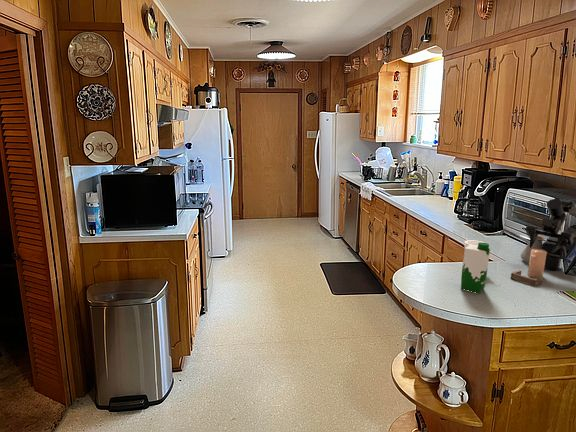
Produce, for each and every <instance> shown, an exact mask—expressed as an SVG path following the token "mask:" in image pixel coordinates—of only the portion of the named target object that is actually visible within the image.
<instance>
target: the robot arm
mask: <svg viewBox="0 0 576 432" xmlns="http://www.w3.org/2000/svg"><path fill="white" fill-rule="evenodd" d="M546 207H547V211H548V214H549V215H550V216H549V218H545V217H542V219H541V222H540V226H541V230H540V229H538V227H537V226H536V225H531V224H528V225H526V227H525V228H524V229H525V232H526V235H527V236H528V237H530V238H529V242H530V248H531V247H532V246H533V244H534V242H535V241H536V239H537V238H536V237H537V236H539V235H541V236H544V237H548V238H547V239H546V240H545V241H544V242H542V244H543V245H542V250H545V251H547V254H546V260H545V266H544V269H545V270H549V271H552V272H554V271H555V272H556V271H563V268H562V267H561V261H562V260H566V256H567V251H566V247H568V246H572V245H573V243H574V238H575V237H576V225H573V226H570V227H568V228H567V227H566V229H565V230H564V231H562V226H563V224H564V222H566V221H567V215H569V216H570V215H572V216H575V217H574V218H576V203H575V202H574V200H568V199H563V198H560V197H556V196H555V197H554V198H552V199H550V200H549V201H547V202H546ZM560 231H562V232H560ZM559 232H560V234H559Z"/></svg>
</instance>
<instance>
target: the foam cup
mask: <svg viewBox="0 0 576 432" xmlns="http://www.w3.org/2000/svg"><path fill="white" fill-rule="evenodd" d="M478 243H486V242H484V241H481V240H473V239H472V240H471V239H470V240H464V249H465V248H466V247H467V246H469V245H470V244H473V245H478Z"/></svg>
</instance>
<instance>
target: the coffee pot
mask: <svg viewBox="0 0 576 432" xmlns="http://www.w3.org/2000/svg"><path fill="white" fill-rule="evenodd" d="M503 231H504V232H506V233H507V234H509V235H511V236H512V237H515V238H517V239H519V240H522V241H524V242H525V243H527V245H526V246H525V248H524V249H523V250H522V252H521V253H520V258H521V260H523V262H524V263H525V264H528V265H529V261H530V255H531V249H542V245H543V241H544V240H545V238H544V237H543V236H539V235H538V236H537V237H536V238H537V239H536V241H535V242H534V244H533V246H532V247H531V248H530V240H528V239H525V238H523V237H522V236H519V235H517V234H516V233H515V232H512V231H509V230H508V229H506V228H503V229H502V230H501V232H503ZM528 237H529V236H528ZM529 239H530V237H529Z"/></svg>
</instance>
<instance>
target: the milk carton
mask: <svg viewBox="0 0 576 432" xmlns="http://www.w3.org/2000/svg"><path fill="white" fill-rule="evenodd" d="M490 254H491V247H490V244H489V243H487V242H485V243H478V245H473V244H470V245H469V246H467V247H466V248H465V247H464V253H463V261H462V269H461V276H460V277H461V279H460V280H461V282H460V283H461V284H460V290H461V289H465V290H469V291H472V292H471V293H473V292H476V293H479V294H481V292H483V291H484V289H485V287H486V286H485V285H486V282H487V281H486V280H487V274H488V266H489V261H490V260H489V259H490ZM465 290H464V291H465ZM469 291H468V292H469ZM476 293H475V294H476Z"/></svg>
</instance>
